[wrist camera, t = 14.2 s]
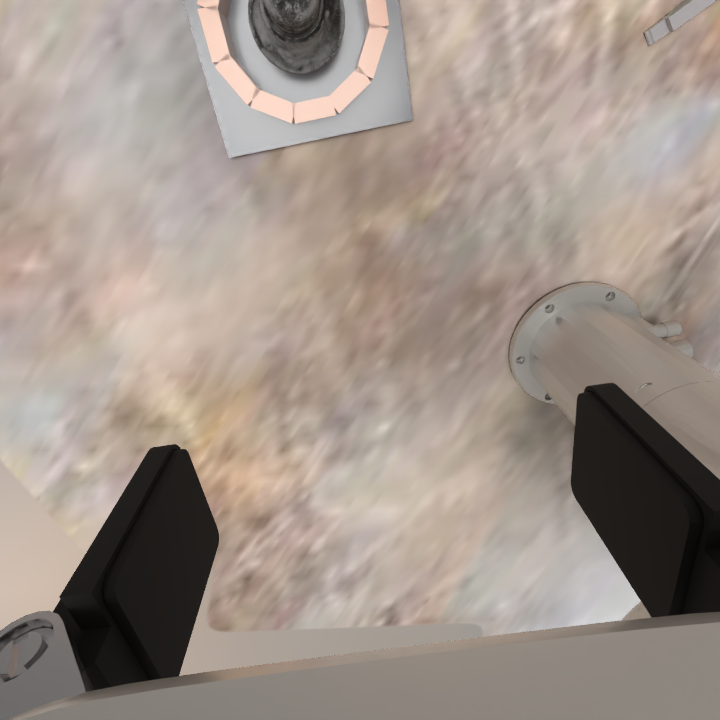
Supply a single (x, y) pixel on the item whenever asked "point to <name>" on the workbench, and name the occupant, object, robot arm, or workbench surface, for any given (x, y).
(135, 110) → the workbench surface
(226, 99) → the shaker holder
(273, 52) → the dark flared piece
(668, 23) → the caliper
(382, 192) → the workbench surface
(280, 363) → the workbench surface
